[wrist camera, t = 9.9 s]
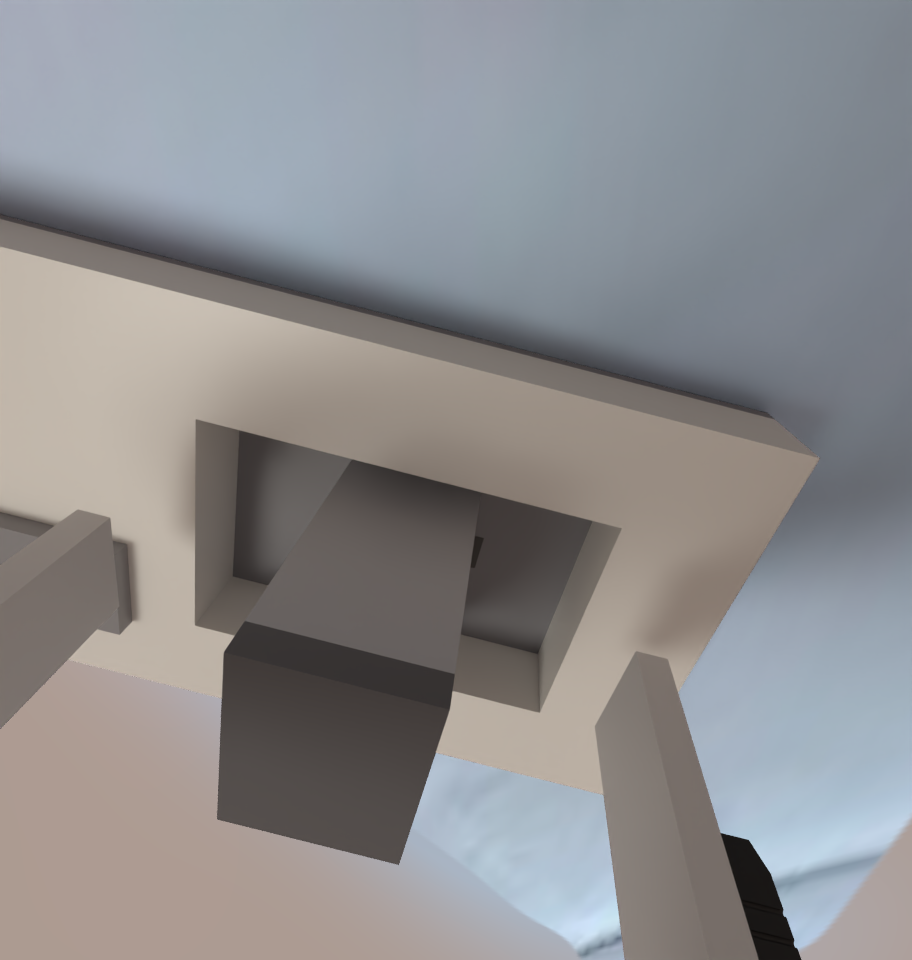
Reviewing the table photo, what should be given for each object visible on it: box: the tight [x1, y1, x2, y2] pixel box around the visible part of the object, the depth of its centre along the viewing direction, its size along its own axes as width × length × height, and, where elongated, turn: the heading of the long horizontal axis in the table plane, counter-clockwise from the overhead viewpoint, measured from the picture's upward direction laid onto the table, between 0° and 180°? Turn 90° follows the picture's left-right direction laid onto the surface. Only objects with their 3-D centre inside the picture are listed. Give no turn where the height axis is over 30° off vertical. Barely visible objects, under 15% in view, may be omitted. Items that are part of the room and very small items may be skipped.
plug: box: [217, 459, 481, 865], centre depth 14 cm, size 5×4×8 cm
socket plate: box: [0, 215, 820, 795], centre depth 16 cm, size 13×24×4 cm, turn 77°
